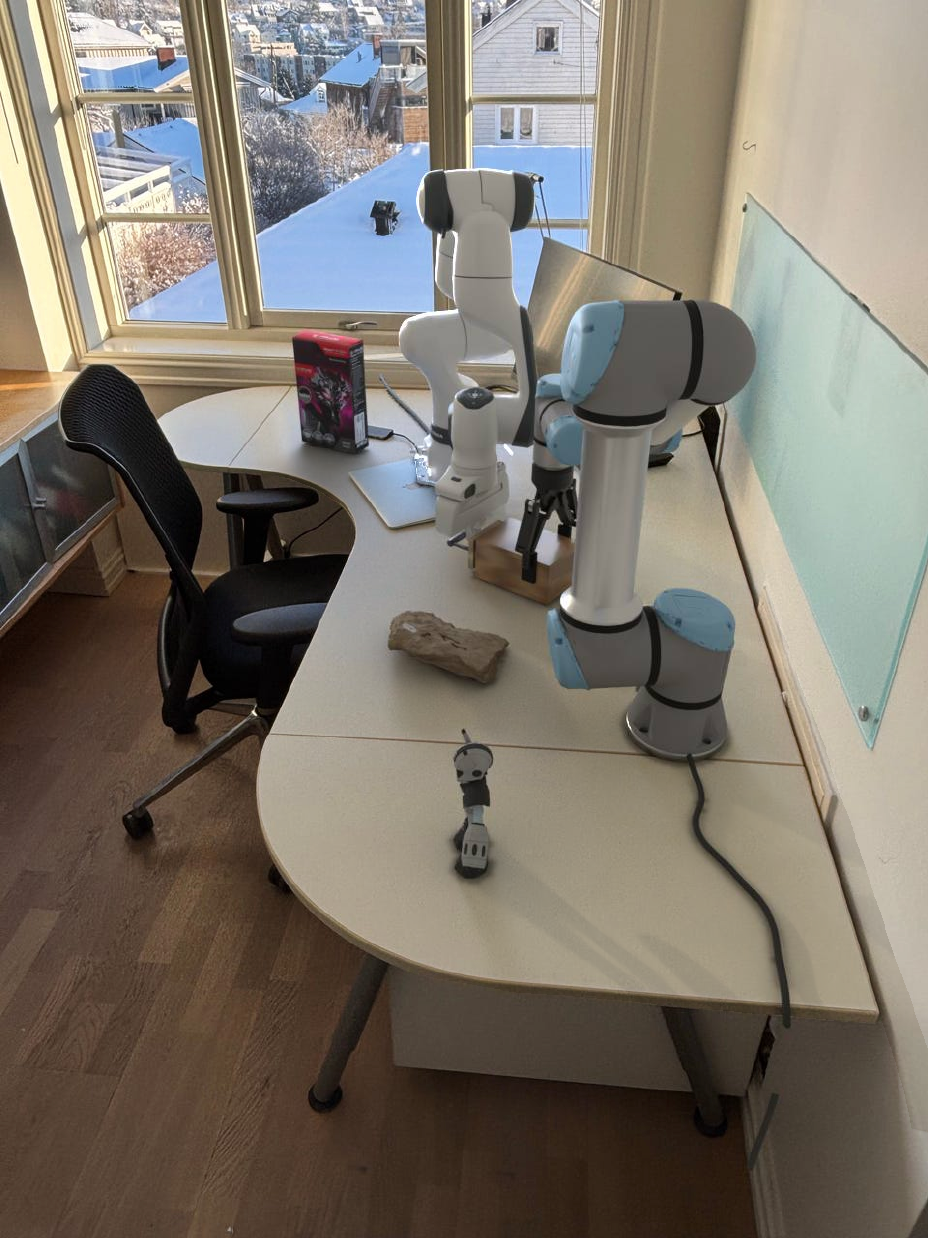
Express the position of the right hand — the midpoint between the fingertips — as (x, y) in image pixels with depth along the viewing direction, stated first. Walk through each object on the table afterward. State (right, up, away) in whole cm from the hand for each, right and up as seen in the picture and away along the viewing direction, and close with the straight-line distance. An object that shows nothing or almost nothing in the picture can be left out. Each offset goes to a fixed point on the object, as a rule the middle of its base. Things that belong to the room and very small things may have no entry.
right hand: (545, 568), depth 176 cm
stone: (-19, -16, -18) cm, 31 cm away
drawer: (-8, +1, +7) cm, 10 cm away
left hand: (-14, +6, +8) cm, 17 cm away
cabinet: (-3, -2, +4) cm, 6 cm away
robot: (-15, -41, -54) cm, 69 cm away
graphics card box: (-48, +34, +58) cm, 83 cm away
